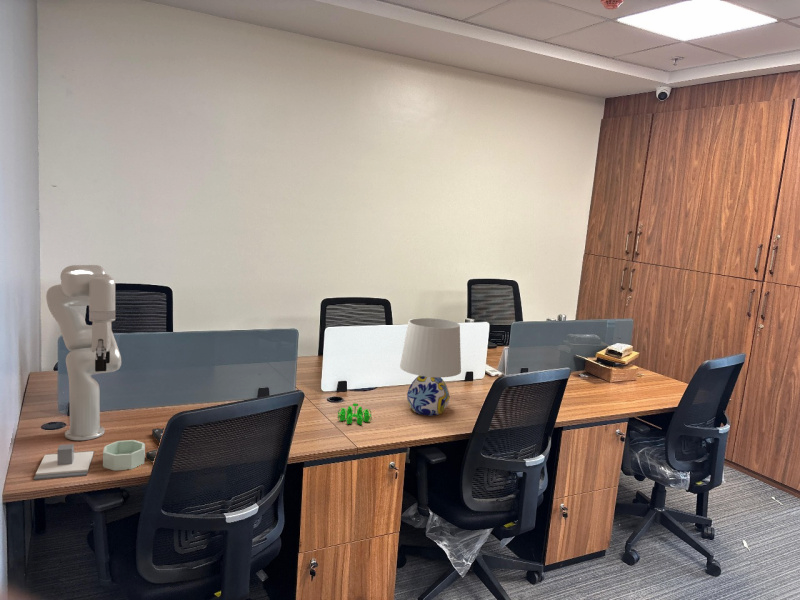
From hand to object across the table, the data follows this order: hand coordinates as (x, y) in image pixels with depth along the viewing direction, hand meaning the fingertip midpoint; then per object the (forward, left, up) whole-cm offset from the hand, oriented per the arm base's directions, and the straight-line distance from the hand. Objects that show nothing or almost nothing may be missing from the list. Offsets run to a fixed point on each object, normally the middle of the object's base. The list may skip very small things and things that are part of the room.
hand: (102, 367), depth 191 cm
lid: (+6, -10, -30) cm, 32 cm away
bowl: (+7, +7, -30) cm, 32 cm away
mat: (+6, -10, -30) cm, 32 cm away
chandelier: (-18, +92, -31) cm, 99 cm away
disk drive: (-10, +22, -31) cm, 39 cm away
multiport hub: (+8, +18, -31) cm, 37 cm away
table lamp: (-24, +128, -31) cm, 134 cm away
